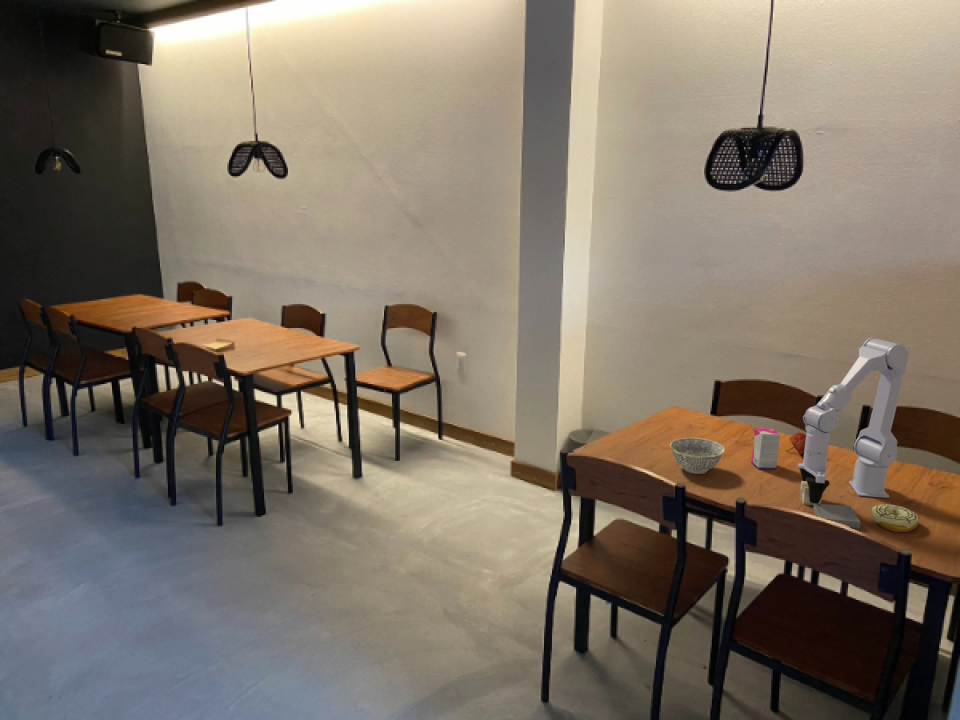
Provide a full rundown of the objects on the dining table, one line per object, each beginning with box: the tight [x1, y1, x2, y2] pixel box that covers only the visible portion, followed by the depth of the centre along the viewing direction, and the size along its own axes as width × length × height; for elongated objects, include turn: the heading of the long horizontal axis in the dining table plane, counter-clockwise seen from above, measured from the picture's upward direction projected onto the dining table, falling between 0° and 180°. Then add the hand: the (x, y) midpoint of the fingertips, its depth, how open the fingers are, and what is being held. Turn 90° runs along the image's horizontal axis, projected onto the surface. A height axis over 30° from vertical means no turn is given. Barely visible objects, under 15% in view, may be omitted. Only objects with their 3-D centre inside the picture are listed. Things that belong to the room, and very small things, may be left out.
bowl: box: [669, 437, 726, 475], centre depth 217 cm, size 16×16×8 cm
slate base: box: [812, 503, 862, 530], centre depth 185 cm, size 9×9×2 cm
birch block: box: [799, 480, 823, 506], centre depth 195 cm, size 4×4×5 cm
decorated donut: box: [871, 503, 920, 533], centre depth 183 cm, size 10×11×4 cm
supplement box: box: [750, 427, 781, 470], centre depth 219 cm, size 6×6×12 cm
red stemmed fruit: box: [785, 431, 806, 456], centre depth 229 cm, size 7×7×10 cm
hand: (810, 496), depth 195 cm, fingers open, 7 cm apart
